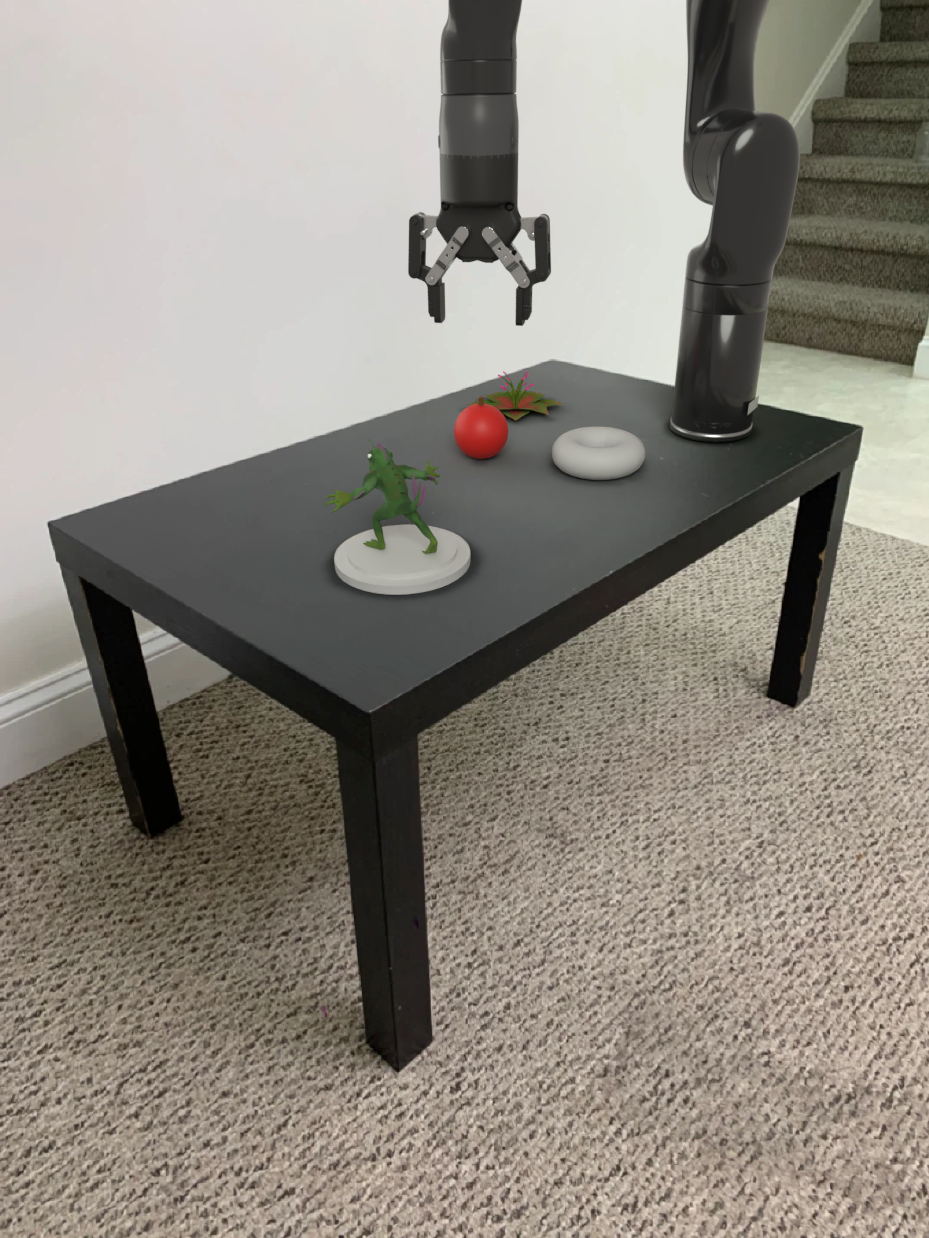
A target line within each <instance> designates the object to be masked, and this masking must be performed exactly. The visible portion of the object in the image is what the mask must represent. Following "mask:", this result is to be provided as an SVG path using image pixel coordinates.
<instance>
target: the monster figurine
mask: <svg viewBox="0 0 929 1238" xmlns="http://www.w3.org/2000/svg"><path fill="white" fill-rule="evenodd" d="M368 441H369V442H370V443H371V445H372V449H371V450H369V451H368V452H367V460H368V462H369V464H368V469H369V472H367V473H366V474H365V475H364V477H363V479H362V480H363V481H362V486H358V487H356V488H354V489H353V490H352V491H350V492H345V491H342V490H339V489H333V492H334V493H329V494H328V495H326V497H325V498H324V500H328V499H330V498H334V499H331V500H329V501H327V502H326V503H324V504H323V506H324V507H325V506H328V505H332V504H333V505H336V507H335V508H334V509H333V510H332V511H331V512H330V513H331V514H332V513H334V512H336V511H338V510H340V509H342V508H343V507H345V506H347V505H348V504H350V503H351V502H353V501H357V500H360V499H362V498H364V497H366V496H367V495H369V493H371V492H372V491H373V490H374V489H376V490H378V491H380V493H382V499H383V504H381V506H379V507H378V508H377V509H376V510H375V511H374V512H373V513H372V517H371V521H372V528H371V529H367V530H365V531H361V532H359V533H357V534H355V535H353V536H351V537H349V538H348V539H346V540H344V542H342V543H341V544H340V545H339V546H338V547H337V548H336V550H335V553H334V555H333V556H334V557H333V562H334V569H335V573H336V575H337V576H338V578H339V579H341V581H342V582H344V583H345V584H347V585H348V586H351V587H353V588H355V589H358V590H361V591H364V592H368V593H373V594H380V595H390V596H391V595H394V596H395V595H397V596H398V595H399V596H401V595H412V594H413V595H414V594H422V593H427V592H431V591H435V590H437V589H441V588H443V587H445V586H448V585H450V584H453V583H454V582H456V581H458V580H459V579H460V578H461V577H463V576H464V575H465V574H466V573H467V571H468V570H469V568H470V567H471V561H472V559H471V548H470V545H469V544H468V542H467V541H466V539H464V538H462V536H460V535H459V534H456V533H455V532H453V531H450V530H447V529H445V528H441V527H437V526H431V525H428V524H427V523H426V522H425V521H424V520H423V519H422V517H421V515H420V514H419V512H418V511H417V510H418V508H419V507H422V506H423V505H424V503H425V501H426V496H427V482H426V481H431V482H433V483H435V485H438V484H439V482H438V480H437V478H440V477H441V474H440V473H436V472H435V471H436V470H438V469H439V466H437V465H436V466H432V465H431V463H430V460H429V459H427V460H426V467H425V469H423V470H421V469H418V468H416V467H413V466H409V465H406V464H399V465H398V464H396V463H395V461H394V459H393V452H391V451H389V450H388V449H387V448H386V447H384V445H382V444H381V442H378V443H377V444H376V445H374V444H373V442H372V440H371V438H368ZM419 479H421V480H423V481H425V482H424V485H422V483H421V482H419V483H417V481H416V480H419ZM406 480H411V486H412V487H411V488H412V494H413V501H412V500H411V499H410V497H409V490H408V485H407V481H406ZM401 515H403V516H404V517H405V518H406V519H408V520H409V522H412V523H413V524H394V525H393V524H392V525H386V526H382V524H381V521H384V520H390V519H393V518H395V517H398V516H401Z"/></svg>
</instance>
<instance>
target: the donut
mask: <svg viewBox="0 0 929 1238" xmlns="http://www.w3.org/2000/svg"><path fill="white" fill-rule="evenodd" d="M551 455H552V461H553V463H554V465H555V466H556V467H557V468H559V470H560V471H561V472H562V473H565V474H567V475H569V476H572V477H575V478H578V479H579V478H580V479H582V480H591V481H608V480H610V481H611V480H617V479H621V478H624V477H627V476H630V475H631V474H633V473H635V472H636V471H637V470H639V469H640V468H641V466H642V465H643V463H644V461H645V458H646V449H645V446H644V443H643V442H642V440H641V439H640V438H639V437H637V436H636V435H635V434H634V433H631V432H629V431H626V430H624V429H620V428H616V427H609V426H583V427H578V428H574V429H571V430H570V429H569V430H568V431H565V432H564V433H562V434H561V435H559V436H558V437H557V438H556V439H555V441H554V443H553V444H552V447H551Z"/></svg>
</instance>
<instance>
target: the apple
mask: <svg viewBox="0 0 929 1238" xmlns="http://www.w3.org/2000/svg"><path fill="white" fill-rule="evenodd" d="M484 398H485V396H484V395H479V396H477V401H478V404H474V405H471V406H469V405H468V406H467V407H466V408H464V409H462V411H461V412H460V413H459V414H458V416H457V418H456V420H455V422H454V428H453V437H454V441H455V443H456V445H457V446H458V449H460V451H461V452H463V453H464V454H465V455H466V456H468V457H470V458H472V459H477V460H485V459H489V458H492V457H494V456H496V455H497V454H499V453H500V452H501V451H502V450H503V449H504V447H505V445H506V443H507V441H508V437H509V423H508V420H507V418H506V417H505V414H503V413H502V412H501V410H498V409H497V408H495V407H494V406H492V405H489V404H484V400H485V399H484Z"/></svg>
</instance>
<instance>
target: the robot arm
mask: <svg viewBox="0 0 929 1238" xmlns="http://www.w3.org/2000/svg"><path fill="white" fill-rule="evenodd" d="M447 1H448V3H447V4H448V5H447V6H448V9H447V10H448V11H447V12H448V13H447V19H446V22H445V24H444V26H443V28H442V31H441V36H440V46H439V60H440V61H439V70H440V71H439V73H440V75H439V77H440V79H439V81H440V106H439V117H438V136H437V145H438V146H437V147H438V150H439V152H438V153H439V187H440V188H439V190H440V191H439V192H440V193H439V194H440V196H439V197H440V209H439V213H438V215H432V214H431V215H429V214H426V213H424V212H422V211H419V212H416V213H415V214H413V215H412V216H410V217H409V219H408V256H407V258H408V259H407V260H408V262H407V264H408V265H407V269H408V270H407V272H408V277H410V278H411V279H414V280H415V279H416V280H419V281H422V282H423V283H425V284H426V287H427V309H428V310H427V313H428V315H429V317H430V318H433V321H434V324H442V323H443V322H445V320H446V286H445V285H446V282H443V277H444V276H445V274H446V273H447V272H448V270H449V269H450V268H451V266H452V265H453V263H454V262H455V261H456V260H460V261H461V262H462V263H473V262H476V261H478V262H482V263H485V264H493V263H495V262H497V261H500V263H501V264H502V265H503V268H504V269H505V270H506V271H507V272H509V274H510V275H511V277H512V278H513V279H514V281H515V282H516V284H517V285H518V286H516V288H515V326H516V327H518V326H519V327H520V326H522V327H523V326H524V325H525V324H526V321H528V320H529V319H530V317H531V315H532V312H533V287H534V285H536V284H539V283H545V282H546V281H547V280H548V278H549V277H550V275H552V255H551V254H552V251H551V250H552V249H551V219H550V217H549V215H548V214H546V213H541V214H539V215H538V216H527V217H525V216H524V217H522V216H521V213H520V211H519V207H518V206H519V205H518V201H519V200H518V199H519V198H518V197H519V193H518V192H519V138H520V137H519V132H520V131H519V130H520V129H519V128H520V125H519V124H520V123H519V111H518V100H517V94H516V93H517V82H518V81H517V80H518V79H517V77H518V76H517V75H518V74H517V73H518V49H517V47H518V46H517V33H518V26H519V22H520V18H521V17H520V16H521V12H522V4H523V0H447ZM769 2H770V0H685V16H686V21H685V23H686V44H687V45H686V47H687V73H686V92H685V109H684V111H685V112H684V123H683V125H684V126H683V141H682V142H683V143H682V166H683V173H684V179H685V181H686V185H687V187H688V189H689V191H690V192H691V194H692V195H693V196H694V197H695V198H696V199H697V200H699V201H700V202H702V203H704V204H706V205H708V206H712V208H711V209H712V210H711V216H710V222H709V228H708V232H707V235H706V237H705V238H704V240H703V241H702V242H701V243H699V244H698V245H697V244H696V245H695V246H693V247H692V248H691V249H690V250H689V252H688V254H687V258H686V264H685V265H686V266H685V275H684V283H683V284H684V285H683V294H682V307H681V318H680V327H679V338H678V347H677V357H676V358H677V359H676V369H675V379H674V391H673V397H672V398H673V399H672V409H671V410H672V411H671V417H670V422H669V429H670V430H671V432H672V433H674V434H676V435H677V436H680V437H682V438H686V439H688V440H693V441H698V442H709V443H728V442H733V441H734V442H735V441H739V440H743V439H745V438H747V437H749V436H750V435H751V434H752V431H753V425H754V424H753V423H754V422H753V418H754V411H755V410H756V409H757V408H758V406H759V398H760V395H758V396H757V392H758V391H757V390H758V382H759V376H760V369H761V362H762V356H763V348H764V340H765V333H766V326H767V320H768V312H769V303H770V297H771V291H772V290H771V289H772V282H773V278H774V270H775V265H776V263H777V261H778V260H779V257H780V256H781V254H782V252H783V250H784V247H785V245H786V241H787V237H788V232H789V226H790V221H791V216H792V211H793V207H794V201H795V197H796V191H797V185H798V179H799V172H800V160H801V153H800V151H801V150H800V142H799V138H798V134H797V132H796V129H795V127H794V126H793V125H792V123H791V122H790V121H789V120H788V119H787V118H785V116H783V115H780V114H778V113H775V112H769V111H760V110H756V105H755V103H756V102H755V57H756V48H757V43H758V37H759V34H760V33H759V32H760V29H761V26H762V22H763V20H764V16H765V13H766V11H767V7H768V5H769ZM434 228H436V230H437V232H439V234H440V235H441V237H442V239H443V240H444V242H445V243H446V246H445V247H444V248H443V250H442V252H441V253H440V254H439V256H438V257H437V259H436V261H435V263H434V264H433V265H432V267H430V266H429V265H427V264H426V263H427V238H430V237H431V236H432V234H433V230H434ZM522 230H524V231H525V232H526V234H527V238H528V239H529V240H530V241H531V242H532V241H533V242H534V257H535V258H534V262H535V263H534V264H535V266H534V267H535V268H533V269H530V268H529V266H528V265H527V264H526V262H525V261H524V260H523V257H522V255H521V253H520V251H519V250H518V249H517V247H516V246H515V244H514V243H513V242H514V241H515V240H516V237H517V236H519V233H520V232H521V231H522Z"/></svg>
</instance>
